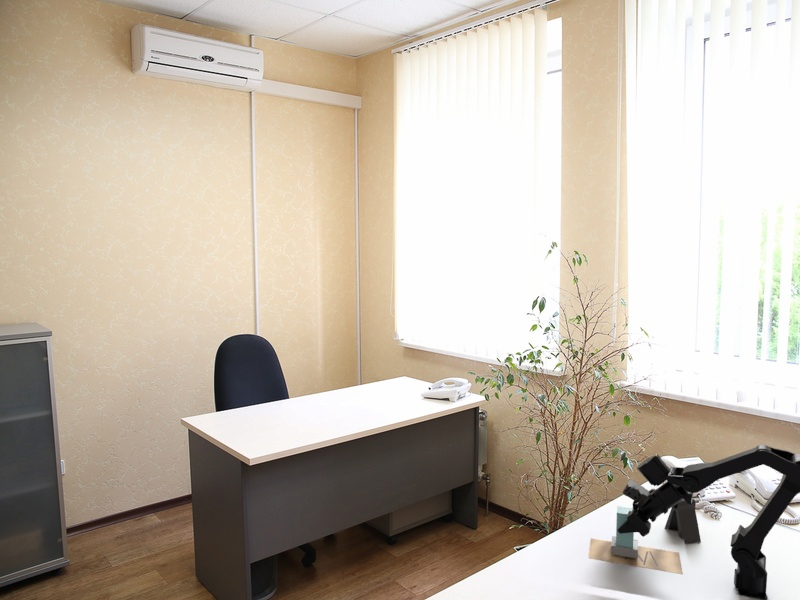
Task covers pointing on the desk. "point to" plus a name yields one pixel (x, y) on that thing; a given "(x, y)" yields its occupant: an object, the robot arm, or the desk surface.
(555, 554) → the desk surface
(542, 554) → the desk surface
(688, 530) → the phone stand
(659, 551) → the oak board
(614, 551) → the block
